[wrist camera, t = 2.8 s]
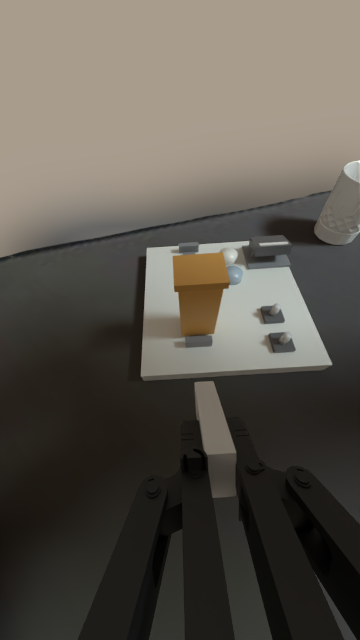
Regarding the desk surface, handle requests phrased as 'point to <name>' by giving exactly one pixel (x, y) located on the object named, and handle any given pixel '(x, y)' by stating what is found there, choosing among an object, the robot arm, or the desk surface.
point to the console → (229, 320)
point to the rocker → (270, 245)
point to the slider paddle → (199, 290)
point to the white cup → (341, 209)
